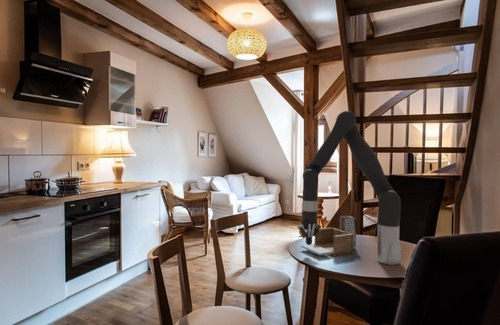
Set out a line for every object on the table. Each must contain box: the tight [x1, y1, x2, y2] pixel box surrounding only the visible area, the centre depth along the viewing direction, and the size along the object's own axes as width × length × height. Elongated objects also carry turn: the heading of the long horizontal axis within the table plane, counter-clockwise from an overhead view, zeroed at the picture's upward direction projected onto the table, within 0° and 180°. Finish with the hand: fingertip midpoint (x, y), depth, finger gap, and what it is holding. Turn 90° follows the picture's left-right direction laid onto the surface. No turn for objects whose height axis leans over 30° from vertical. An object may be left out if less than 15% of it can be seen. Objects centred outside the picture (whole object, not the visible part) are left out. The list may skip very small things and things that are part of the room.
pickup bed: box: [313, 226, 354, 258], centre depth 162 cm, size 16×12×10 cm
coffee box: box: [339, 215, 357, 250], centre depth 171 cm, size 9×6×16 cm
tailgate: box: [300, 243, 332, 256], centre depth 158 cm, size 15×2×8 cm
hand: (308, 244), depth 156 cm, fingers closed
